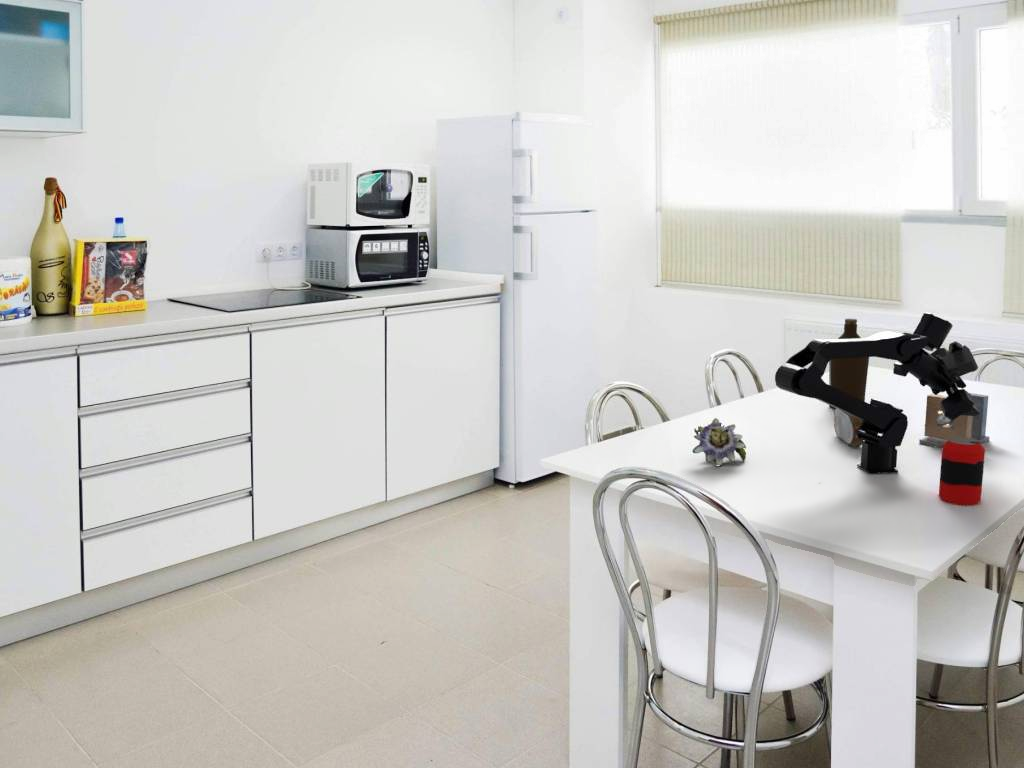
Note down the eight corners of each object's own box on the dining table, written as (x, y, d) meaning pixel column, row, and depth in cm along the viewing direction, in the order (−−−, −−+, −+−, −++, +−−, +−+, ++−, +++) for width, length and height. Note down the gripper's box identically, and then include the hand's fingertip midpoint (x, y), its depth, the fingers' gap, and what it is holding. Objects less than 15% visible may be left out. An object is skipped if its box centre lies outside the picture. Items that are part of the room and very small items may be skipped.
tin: (864, 449, 225) (866, 415, 223) (850, 450, 225) (852, 415, 223) (843, 434, 239) (845, 401, 238) (830, 434, 239) (832, 401, 238)
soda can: (974, 508, 182) (978, 448, 180) (933, 500, 187) (937, 441, 185) (985, 498, 188) (990, 439, 185) (945, 491, 193) (949, 434, 190)
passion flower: (718, 489, 214) (691, 451, 210) (704, 467, 224) (678, 430, 220) (760, 461, 213) (734, 423, 209) (744, 441, 223) (719, 403, 219)
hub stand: (960, 451, 221) (963, 405, 219) (919, 443, 229) (922, 398, 227) (989, 440, 230) (992, 396, 228) (948, 433, 238) (951, 390, 236)
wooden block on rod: (965, 443, 222) (968, 401, 220) (924, 435, 230) (927, 395, 228) (970, 441, 224) (973, 400, 222) (929, 434, 232) (932, 393, 230)
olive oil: (871, 406, 269) (876, 318, 264) (858, 413, 261) (863, 322, 256) (834, 401, 276) (838, 315, 271) (820, 408, 268) (825, 320, 263)
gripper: (970, 372, 196) (1017, 407, 201) (943, 318, 210) (988, 352, 215) (925, 404, 202) (972, 437, 207) (902, 349, 216) (947, 381, 221)
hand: (971, 400), depth 212 cm, fingers open, 9 cm apart
